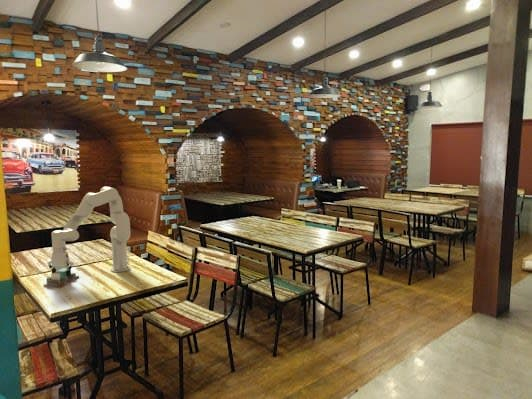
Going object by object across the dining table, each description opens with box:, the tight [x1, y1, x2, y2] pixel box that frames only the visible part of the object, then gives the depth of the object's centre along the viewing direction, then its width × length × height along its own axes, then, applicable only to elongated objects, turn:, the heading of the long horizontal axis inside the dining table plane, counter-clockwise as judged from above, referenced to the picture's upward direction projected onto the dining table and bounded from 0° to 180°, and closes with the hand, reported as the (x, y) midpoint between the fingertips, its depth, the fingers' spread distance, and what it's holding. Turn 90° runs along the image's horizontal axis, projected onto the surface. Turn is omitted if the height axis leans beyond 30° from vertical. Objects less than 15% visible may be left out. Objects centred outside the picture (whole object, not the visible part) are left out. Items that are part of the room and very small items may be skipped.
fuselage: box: [50, 268, 72, 284], centre depth 257 cm, size 13×5×6 cm, turn 174°
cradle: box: [43, 272, 80, 288], centre depth 257 cm, size 19×12×4 cm, turn 174°
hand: (61, 275), depth 256 cm, fingers open, 9 cm apart
